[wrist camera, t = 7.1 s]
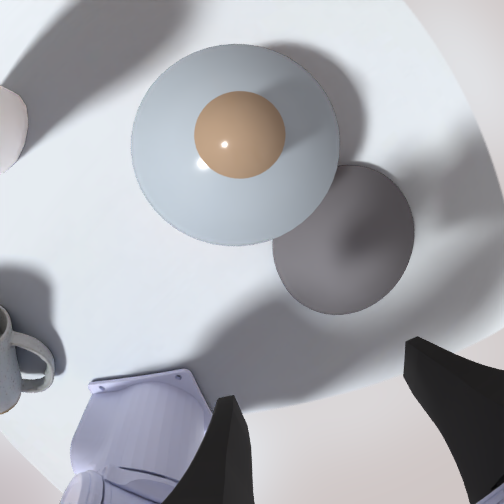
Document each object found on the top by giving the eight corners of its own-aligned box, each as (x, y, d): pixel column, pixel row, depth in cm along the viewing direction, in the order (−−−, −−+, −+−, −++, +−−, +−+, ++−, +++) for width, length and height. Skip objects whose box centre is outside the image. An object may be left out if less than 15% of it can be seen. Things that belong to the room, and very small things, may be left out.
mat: (289, 327, 21) (291, 331, 20) (255, 184, 17) (256, 185, 17) (412, 286, 21) (416, 290, 20) (399, 154, 18) (404, 154, 17)
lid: (173, 266, 15) (155, 304, 11) (115, 88, 12) (77, 65, 8) (353, 209, 15) (395, 228, 11) (301, 34, 12) (327, -5, 8)
